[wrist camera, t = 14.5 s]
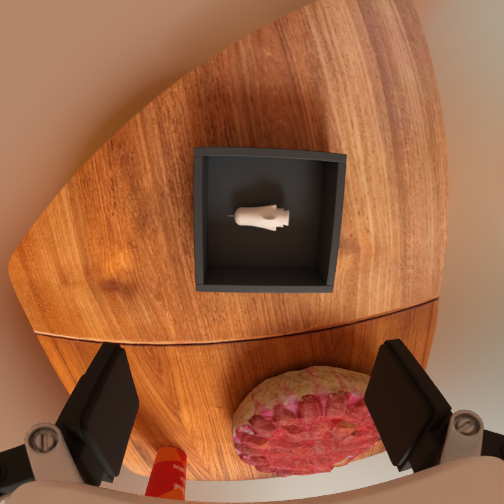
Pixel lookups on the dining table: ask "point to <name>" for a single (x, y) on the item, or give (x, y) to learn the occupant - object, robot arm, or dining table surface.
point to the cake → (305, 422)
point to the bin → (260, 239)
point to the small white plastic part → (262, 217)
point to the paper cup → (168, 475)
